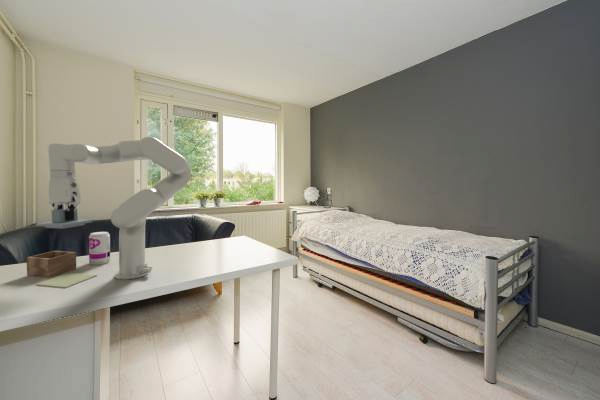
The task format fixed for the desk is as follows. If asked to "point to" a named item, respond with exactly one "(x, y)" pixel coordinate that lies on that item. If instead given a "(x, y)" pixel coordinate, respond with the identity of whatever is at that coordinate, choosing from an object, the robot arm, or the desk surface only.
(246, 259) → the desk surface
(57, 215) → the lid
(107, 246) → the supplement can
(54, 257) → the walnut box
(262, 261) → the desk surface
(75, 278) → the felt mat
